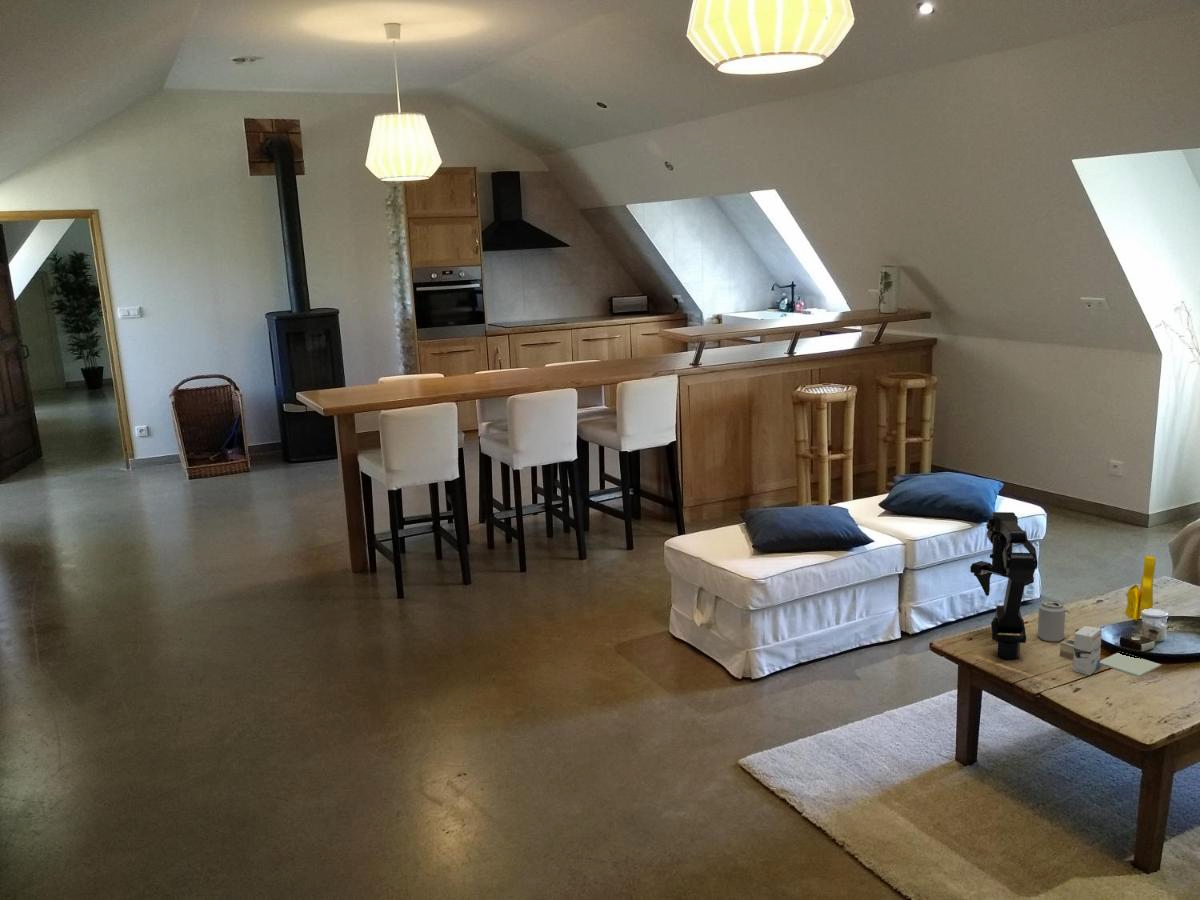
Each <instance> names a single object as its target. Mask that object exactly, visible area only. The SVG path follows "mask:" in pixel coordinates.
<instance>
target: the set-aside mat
mask: <svg viewBox="0 0 1200 900" xmlns="http://www.w3.org/2000/svg"><path fill="white" fill-rule="evenodd" d="M1140 658H1141V657H1139V658H1134V657H1130V656H1126V655H1122V654H1120V653H1118V652H1116V653H1113V654H1112V655H1109V656H1107V657H1105V658H1103V659H1100V666H1104V667H1107V668H1111V669H1114V670H1117V671H1119V672H1123V673H1127V674H1129V675H1132V676H1136V677H1137V678H1140V677H1142V676H1144V675H1146V674H1148V673H1151V672H1152V671H1154V670H1156V669H1158V668H1161V667H1162V664H1161V663H1158V662H1155V661H1151V660H1148V659H1145V658H1141V659H1140Z"/></svg>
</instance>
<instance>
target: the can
mask: <svg viewBox="0 0 1200 900" xmlns="http://www.w3.org/2000/svg"><path fill="white" fill-rule="evenodd" d="M1065 623H1066V607H1065V606H1064V603H1063V602H1062V601H1059V600H1055V599H1044V600H1041V603H1040V604H1039V606H1038V624H1037V636H1038V637H1039V638H1040V639H1041V640H1043V641H1045V642H1049V643H1057V642H1062V641H1063V639H1064V638H1065V625H1066V624H1065Z"/></svg>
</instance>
